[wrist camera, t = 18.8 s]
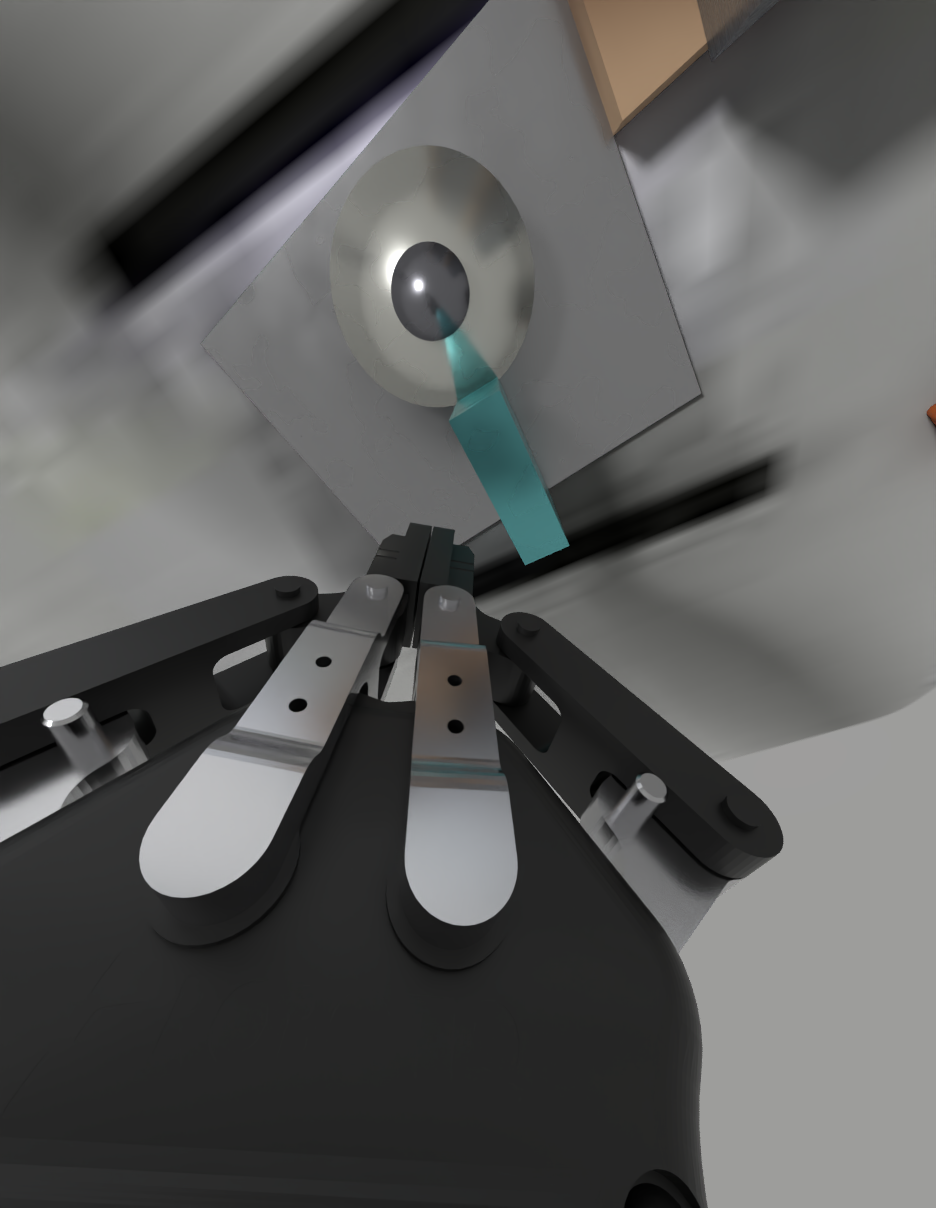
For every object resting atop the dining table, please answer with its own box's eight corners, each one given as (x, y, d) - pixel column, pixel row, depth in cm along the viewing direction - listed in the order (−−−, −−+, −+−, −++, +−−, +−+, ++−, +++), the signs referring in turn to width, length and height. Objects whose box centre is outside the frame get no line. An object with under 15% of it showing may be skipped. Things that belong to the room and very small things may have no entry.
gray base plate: (203, 343, 19) (200, 344, 18) (543, -58, 12) (545, -67, 12) (408, 574, 25) (408, 576, 25) (698, 392, 19) (701, 393, 19)
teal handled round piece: (469, 535, 23) (464, 592, 18) (300, 249, 16) (217, 213, 11) (605, 469, 20) (642, 513, 16) (474, 98, 14) (465, -33, 9)
